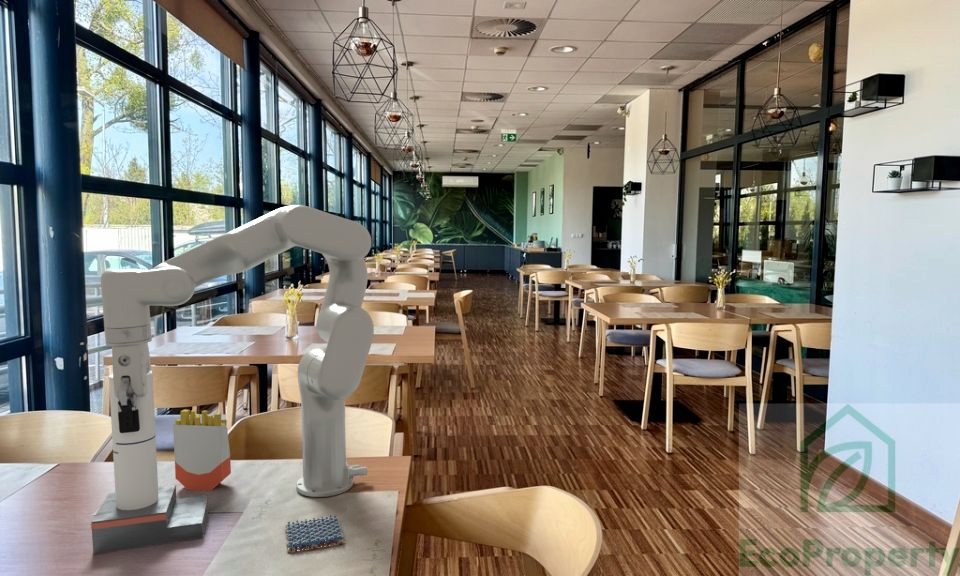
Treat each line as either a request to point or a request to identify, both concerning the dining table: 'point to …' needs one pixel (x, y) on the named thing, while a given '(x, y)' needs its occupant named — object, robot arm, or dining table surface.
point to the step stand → (149, 522)
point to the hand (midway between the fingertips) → (135, 423)
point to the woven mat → (314, 533)
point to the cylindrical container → (135, 453)
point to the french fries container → (201, 450)
